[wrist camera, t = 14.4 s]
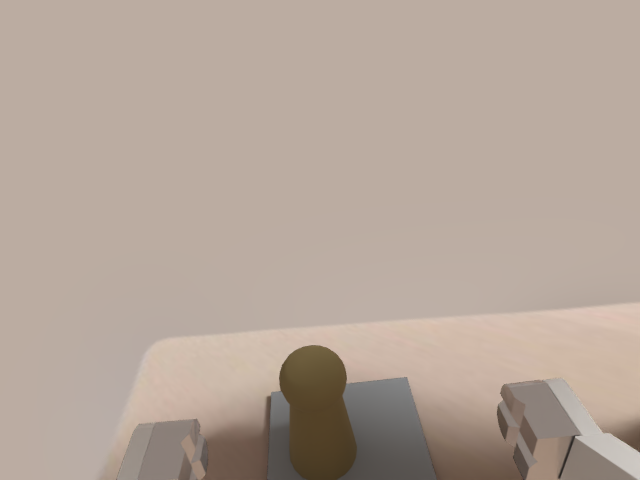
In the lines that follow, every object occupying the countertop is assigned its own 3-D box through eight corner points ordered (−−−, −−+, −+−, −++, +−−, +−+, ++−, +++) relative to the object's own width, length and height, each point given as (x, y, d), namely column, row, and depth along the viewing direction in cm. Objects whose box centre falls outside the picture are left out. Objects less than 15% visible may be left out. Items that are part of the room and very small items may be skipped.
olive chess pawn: (364, 426, 39) (359, 340, 33) (347, 491, 34) (338, 403, 29) (303, 412, 41) (288, 328, 35) (278, 472, 36) (257, 386, 30)
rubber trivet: (406, 381, 44) (406, 377, 43) (450, 530, 32) (450, 526, 31) (272, 395, 44) (271, 392, 43) (264, 551, 32) (263, 547, 31)
